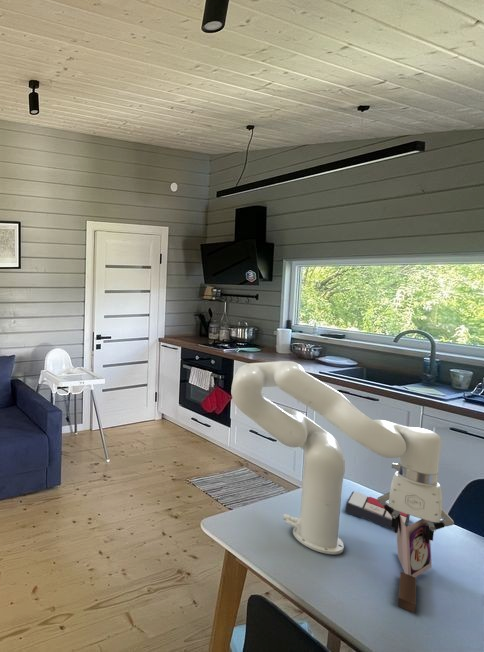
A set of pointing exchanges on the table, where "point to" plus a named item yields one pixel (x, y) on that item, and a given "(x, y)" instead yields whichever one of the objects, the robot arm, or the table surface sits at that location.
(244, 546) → the table surface
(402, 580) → the walnut bar
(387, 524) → the calculator
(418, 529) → the greeting card
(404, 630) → the table surface
